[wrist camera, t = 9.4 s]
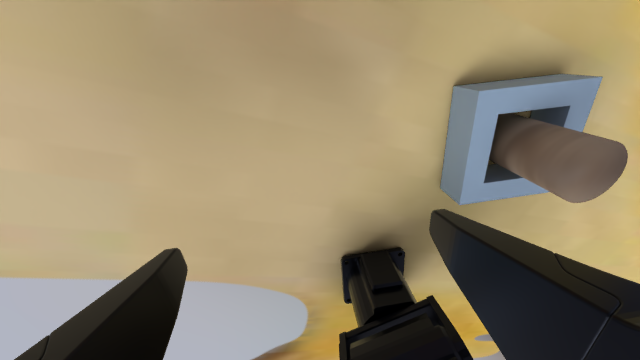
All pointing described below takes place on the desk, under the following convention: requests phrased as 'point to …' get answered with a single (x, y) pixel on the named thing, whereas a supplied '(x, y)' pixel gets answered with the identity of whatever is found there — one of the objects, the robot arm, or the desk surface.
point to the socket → (480, 122)
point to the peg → (557, 157)
